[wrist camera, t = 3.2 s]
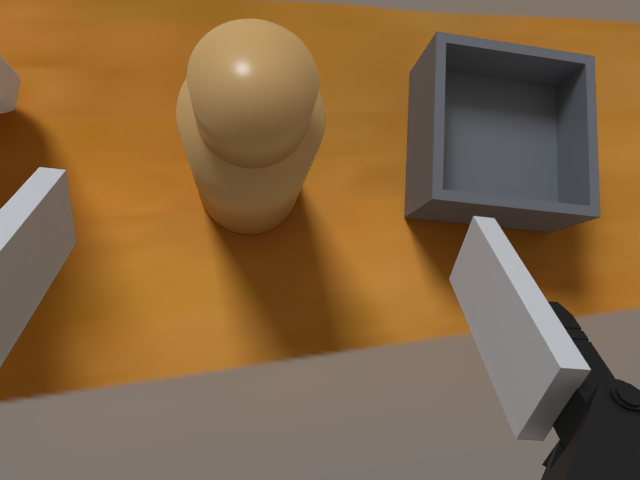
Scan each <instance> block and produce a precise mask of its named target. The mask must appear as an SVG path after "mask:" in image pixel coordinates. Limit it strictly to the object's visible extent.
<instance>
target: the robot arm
mask: <svg viewBox="0 0 640 480" xmlns="http://www.w3.org/2000/svg"><path fill="white" fill-rule="evenodd" d="M75 245H76V238H75V231H74V223H73V216H72V209H71V202H70V195H69V187H68V180H67V173H66V170H62V169H53V168H45V167H39V168H38V169H37V170H36V171H35V172H34V173H33V175H32V176H31V177H30V178H29V179H28V180H27V181H26V182H25V183H24V184H23V185H22V186H21V188H20V189H19V190H18V191H17V192H16V193H15V194H14V195H13V196H12V197H11V198H10V200H9V201H8V202H7V203H6V204H5V205H4V206H3V207H2V208H1V209H0V367H1V366H2V364H3V363H4V361H5V359H6V358H7V356H8V354H9V353H10V351H11V350H12V348H13V346H14V345H15V343H16V341H17V340H18V338H19V336H20V335H21V333H22V332H23V330H24V328H25V327H26V325H27V323H28V322H29V320H30V318H31V317H32V315H33V314H34V312H35V310H36V309H37V307H38V305H39V304H40V302H41V300H42V299H43V297H44V296H45V294H46V292H47V291H48V289H49V287H50V286H51V284H52V282H53V281H54V279H55V278H56V276H57V274H58V273H59V271H60V269H61V268H62V266H63V264H64V263H65V261H66V260H67V258H68V256H69V255H70V253H71V251H72V250H73V248H74V246H75ZM449 280H450V282H451V285H452V287H453V290H454V292H455V294H456V297H457V299H458V302H459V304H460V306H461V309H462V311H463V314H464V316H465V318H466V321H467V323H468V326H469V328H470V330H471V333H472V335H473V338H474V340H475V342H476V345H477V347H478V349H479V352H480V354H481V357H482V359H483V362H484V364H485V366H486V369H487V371H488V374H489V376H490V378H491V381H492V383H493V385H494V388H495V390H496V392H497V395H498V397H499V400H500V402H501V405H502V407H503V409H504V412H505V414H506V416H507V419H508V421H509V424H510V426H511V429H512V431H513V433H514V436H515V438H516V439H519V440H538V441H543V440H544V439H545V437H546V436H547V434H548V433H549V432H550V430H551V429H552V427H554V428H555V430H556V433H557V435H558V437H559V439H560V440H559V441H558V443H557V444H556V446H555V447H554V448H553V450H552V451H551V453H550V454H549V456H548V457H547V459H546V460H545V461H544V463H543V465H544V466H545V467H546V469H545V472H544V474H543V477H542V479H541V480H640V390H639V389H637V388H636V387H634V386H633V385H631V384H629V383H626V382H624V381H621V380H617V379H615V378H614V376H613V375H612V373H611V372H610V370H609V369H608V367H607V366H606V364H605V363H604V361H603V360H602V358H601V357H600V355H599V354H598V352H597V351H596V349H595V348H594V347H593V345H592V343H591V342H589V341H588V338H587V336H586V335H585V333H584V332H583V331H581V327H580V326H579V324H578V323H577V321H576V320H575V318H574V317H573V315H572V314H571V313H569V312H568V311H567V310H566V309H565V308H564V307H563V306H561V305H560V304H559V303H558V302H549V301H547V300H546V298H545V297H544V295H543V294H542V292H541V290H540V289H539V287H538V286H537V284H536V283H535V281H534V279H533V278H532V276H531V275H530V273H529V272H528V270H527V268H526V267H525V265H524V264H523V262H522V261H521V259H520V257H519V256H518V254H517V253H516V251H515V250H514V248H513V246H512V245H511V243H510V242H509V240H508V239H507V237H506V235H505V234H504V232H503V231H502V229H501V228H500V226H499V224H498V223H497V221H496V220H495V218H488V217H479V216H473V218H472V221H471V223H470V226H469V228H468V231H467V234H466V236H465V239H464V241H463V244H462V247H461V249H460V252H459V254H458V257H457V259H456V262H455V265H454V267H453V270H452V272H451V275H450V278H449Z"/></svg>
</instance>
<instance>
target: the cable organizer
mask: <svg viewBox="0 0 640 480" xmlns="http://www.w3.org/2000/svg"><path fill="white" fill-rule="evenodd" d="M20 81H21V80H20V77H19V76H18V74H17V73H16V72H15V71H14V70H13V68H12V67H11V66H10V65H9V64H8V63H7V62H6V61H5V59H4V58H3V57H2V56H1V55H0V114H1V113H7V112H10V111H13V110H14V109H15V108H16V104H17V98H18V93H19V87H20Z"/></svg>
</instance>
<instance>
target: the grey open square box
mask: <svg viewBox="0 0 640 480" xmlns="http://www.w3.org/2000/svg"><path fill="white" fill-rule="evenodd" d="M473 216H479V217H488V218H495V220H496V221H497V223H498V224H499V226H500V227H502V228H511V229H521V230H531V231H541V232H553V231H556V230H560V229H563V228H566V227H570V226H573V225H576V224H579V223H583V222H586V221H589V220H592V219H596V218H599V217H600V196H599V168H598V140H597V112H596V83H595V56H590V55H584V54H578V53H571V52H565V51H558V50H552V49H545V48H539V47H533V46H526V45H520V44H513V43H507V42H500V41H494V40H488V39H481V38H475V37H468V36H462V35H455V34H449V33H442V32H436V33H435V35H434V36H433V38H432V39H431V41H430V42H429V44H428V46H427V47H426V49H425V50H424V52H423V53H422V55H421V56H420V58H419V59H418V61H417V62H416V64H415V65H414V67H413V68H412V70H411V71H410V82H409V109H408V136H407V163H406V190H405V217H404V218H413V219H423V220H433V221H443V222H452V223H462V224H470V223H471V221H472V218H473Z"/></svg>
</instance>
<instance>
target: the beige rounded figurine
mask: <svg viewBox="0 0 640 480" xmlns="http://www.w3.org/2000/svg"><path fill="white" fill-rule="evenodd" d="M176 116H177V125H178V129H179V133H180V136H181V139H182V143H183V146H184V149H185V152H186V155H187V158H188V161H189V164H190V167H191V170H192V173H193V176H194V179H195V182H196V185H197V188H198V192H199V195H200V198H201V201H202V203H203V206H204V208H205V210H206V211H207V213H208V214H209V215H210V217H211V218H212V219H213V220H214V221H215V222H216V223H218V224H219V225H220V226H222V227H223V228H225V229H227V230H229V231H232V232H235V233H239V234H247V235H252V234H260V233H264V232H267V231H269V230H271V229H273V228H275V227H277V226H278V225H279V224H281V223H282V222H283V221H284V220H285V219H286V218H287V217H288V215H289V214H290V212H291V211H292V209H293V207H294V205H295V202H296V200H297V198H298V195H299V193H300V191H301V188H302V186H303V183H304V181H305V179H306V176H307V174H308V172H309V169H310V167H311V165H312V162H313V160H314V158H315V155H316V153H317V151H318V148H319V146H320V143H321V141H322V138H323V134H324V129H325V109H324V104H323V100H322V97H321V94H320V92H319V77H318V71H317V67H316V64H315V61H314V59H313V57H312V55H311V53H310V51H309V50H308V48H307V47H306V46H305V44H304V43H303V42H302V41H301V40H300V39H299V38H298V37H297V36H295V35H294V34H293V33H292V32H290V31H289V30H287V29H285V28H284V27H282V26H280V25H277V24H275V23H272V22H269V21H265V20H260V19H239V20H234V21H230V22H226V23H224V24H222V25H219V26H218V27H216V28H214V29H212V30H211V31H210V32H208V33H207V34H206V35H205V36H204V37H203V38H202V39H201V40H200V41H199V42H198V44H197V45H196V47H195V48H194V50H193V52H192V54H191V57H190V59H189V63H188V68H187V78H186V80H185V82H184V84H183V86H182V88H181V90H180V93H179V96H178V101H177V110H176Z"/></svg>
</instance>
